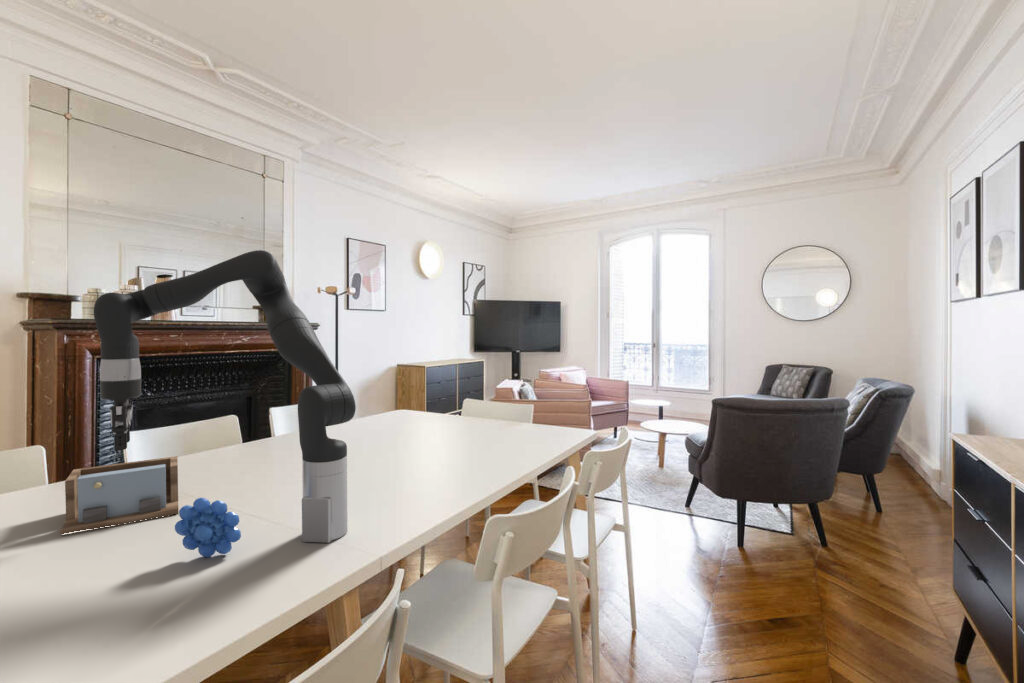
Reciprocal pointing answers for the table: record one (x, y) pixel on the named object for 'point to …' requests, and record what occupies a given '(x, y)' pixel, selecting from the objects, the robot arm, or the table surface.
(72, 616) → the table surface
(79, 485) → the door
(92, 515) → the cabinet
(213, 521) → the blue flower
